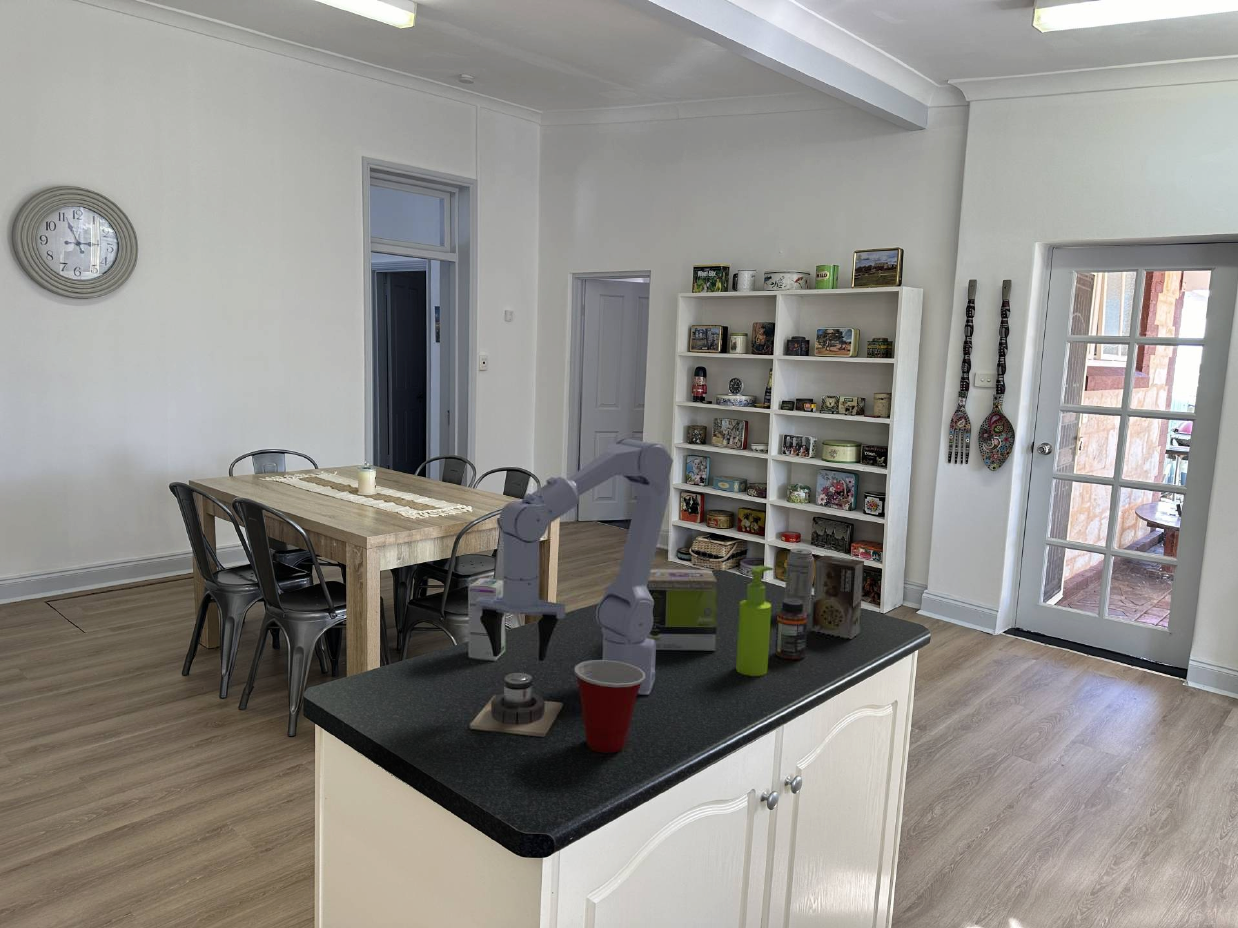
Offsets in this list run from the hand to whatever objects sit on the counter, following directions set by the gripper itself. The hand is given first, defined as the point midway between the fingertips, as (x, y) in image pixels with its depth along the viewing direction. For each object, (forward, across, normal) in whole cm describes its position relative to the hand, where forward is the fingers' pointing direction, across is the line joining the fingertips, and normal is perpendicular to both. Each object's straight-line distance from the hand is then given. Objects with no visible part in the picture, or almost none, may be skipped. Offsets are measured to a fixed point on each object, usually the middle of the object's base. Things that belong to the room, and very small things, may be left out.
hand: (519, 656), depth 144 cm
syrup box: (+10, -13, +24) cm, 29 cm away
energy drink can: (+10, +47, +68) cm, 84 cm away
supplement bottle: (+10, +45, +39) cm, 60 cm away
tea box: (+10, +22, +40) cm, 47 cm away
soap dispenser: (+10, +38, +29) cm, 49 cm away
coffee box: (+10, +55, +57) cm, 80 cm away
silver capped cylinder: (+9, 0, -2) cm, 9 cm away
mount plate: (+9, 0, -2) cm, 10 cm away
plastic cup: (+10, +16, -8) cm, 21 cm away
